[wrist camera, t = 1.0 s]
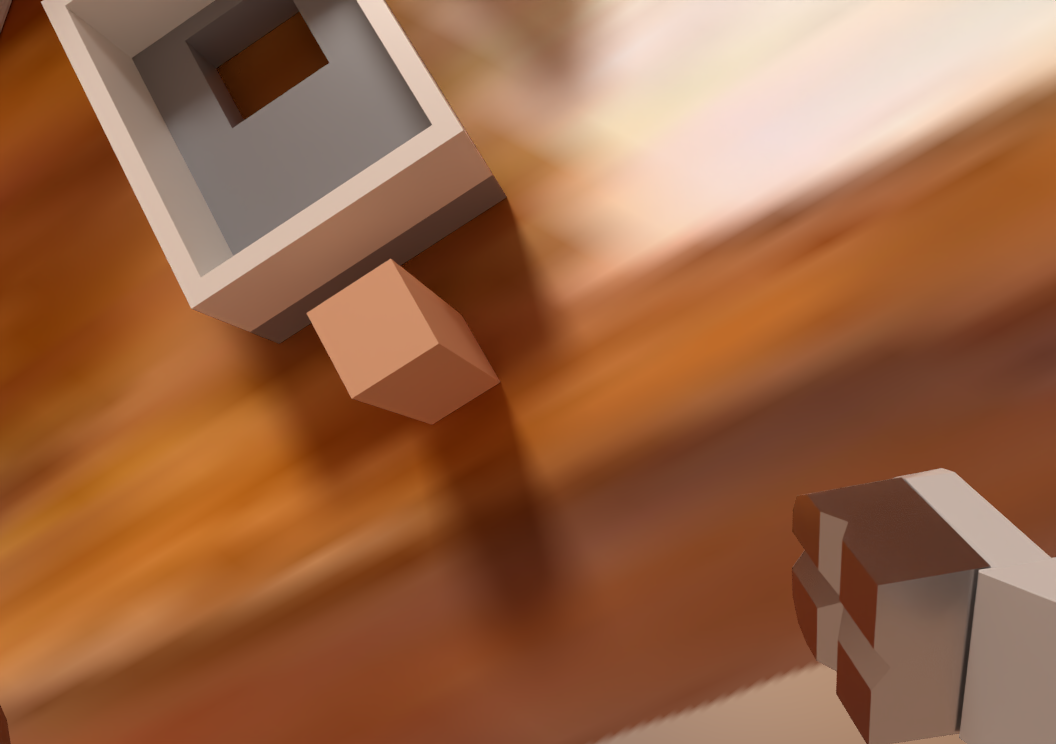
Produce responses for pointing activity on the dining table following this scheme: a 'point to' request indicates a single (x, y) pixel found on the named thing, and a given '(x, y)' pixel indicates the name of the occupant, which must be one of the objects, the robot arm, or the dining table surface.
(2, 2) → the cereal box
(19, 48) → the dining table surface
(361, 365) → the peg
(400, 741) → the dining table surface
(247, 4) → the socket box
